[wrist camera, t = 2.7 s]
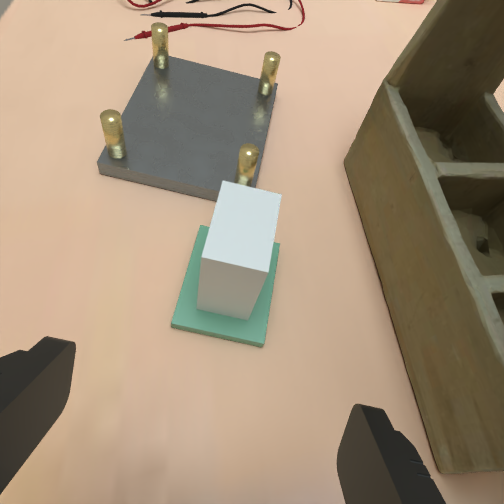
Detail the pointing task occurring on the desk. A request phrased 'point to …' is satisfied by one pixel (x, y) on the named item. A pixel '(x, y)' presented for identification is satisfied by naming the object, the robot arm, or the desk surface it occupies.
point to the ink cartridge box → (405, 1)
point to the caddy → (443, 224)
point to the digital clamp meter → (204, 15)
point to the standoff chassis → (190, 125)
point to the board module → (232, 268)
